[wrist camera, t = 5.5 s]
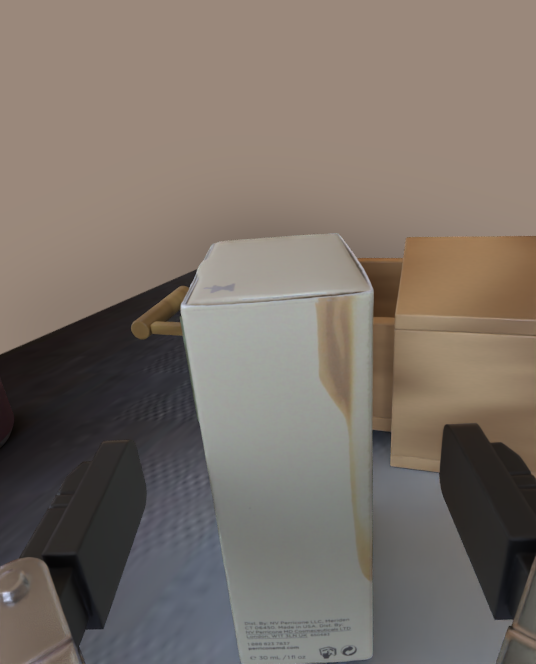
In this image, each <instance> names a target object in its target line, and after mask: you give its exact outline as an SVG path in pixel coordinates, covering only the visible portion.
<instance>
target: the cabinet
mask: <svg viewBox="0 0 536 664" xmlns="http://www.w3.org/2000/svg"><path fill="white" fill-rule="evenodd" d="M461 423H477V424H478V425H479V426H480V427H481V429H482V431H483V432H484V434H485V435H486V437H487V438H488V440H489V442H490V443H494V442H502V443H503V444H505V445H506V446H507V447H509V448H510V449H512V450H513V451H514V452H516V453H517V454H518V455H520V457H521V458H522V460H523V461H524V462H525V464H526V465H527V467H528V468H529V470H530V471H531V475H534V477H535V478H536V236H502V237H501V236H499V237H498V236H497V237H407V238H406V242H405V249H404V257H403V263H402V270H401V277H400V284H399V291H398V298H397V305H396V312H395V330H394V361H393V392H392V423H391V455H390V465H391V466H393V467H400V468H408V469H416V470H424V471H432V472H439V471H440V459H441V448H442V437H443V429H444V426H445V425H446V424H461Z"/></svg>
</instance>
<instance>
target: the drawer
mask: <svg viewBox="0 0 536 664" xmlns="http://www.w3.org/2000/svg"><path fill="white" fill-rule="evenodd" d="M357 259H358V261H359V262H360V263H361V265H362V267H363V268H364V270H365V272H366V274H367V276H368V278H369V280H370V282H371V285H372V287H373V289H374V306H373V422H372V430H379V431H388V432H391V423H392V392H393V361H394V330H395V312H396V305H397V298H398V291H399V284H400V277H401V270H402V263H403V258H357ZM188 290H189V288H188V287H186V286H180V287H179V288H177V289H176V290H175V291H173V292H172V293H171V294H170V295H168V296H167V297H166V298H164V299H163V300H162V301H160V302H159V303H158V304H157V305H155V306H154V307H153V308H151V309H150V310H149V311H147V312H146V313H145V314H144V315H142V316H141V317H140V318H138V319H137V320H136V321H134V322H133V323H132V326H131V330H132V333H133V334H134V336H136V337H137V338H139V339H146V338H148V337H149V336H150V335H151V334H164V335H181V336H183V340H184V346H185V351H186V357H187V363H188V368H189V374H190V380H191V386H192V391H193V397H194V403H195V408H196V414H197V420H198V422H199V416H198V410H197V405H196V399H195V393H194V387H193V380H192V375H191V369H190V363H189V357H188V351H187V345H186V339H185V332H184V326H183V321H182V316H181V317H180V322H166V321H168V320H169V319H170V318H171V317H172V316H173V315H175V314H176V313H177V312H178V311H179V310H180V309H181V303H182V302H183V300H184V298H185V296H186V294H187V292H188Z"/></svg>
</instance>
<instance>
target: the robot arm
mask: <svg viewBox="0 0 536 664" xmlns="http://www.w3.org/2000/svg"><path fill="white" fill-rule="evenodd" d="M439 477H440V486H441V490H442V494H443V497H444V500H445V502H446V504H447V507H448V509H449V512H450V514H451V516H452V519H453V521H454V524H455V526H456V528H457V531H458V533H459V535H460V538H461V540H462V543H463V545H464V547H465V550H466V552H467V555H468V557H469V559H470V562H471V564H472V567H473V569H474V571H475V574H476V576H477V578H478V581H479V583H480V586H481V588H482V590H483V593H484V595H485V598H486V600H487V602H488V605H489V607H490V610H491V612H492V614H493V617H494V619H495V620H507V619H513V623H512V626H509V627H508V630H507V632H506V635H505V637H504V640H503V643H502V646H501V649H500V652H499V655H498V657H497V660H496V663H495V664H536V478H535V477H534V475H531V471H530V470H529V468H528V467H527V465H526V464H525V462H524V461H523V460H522V458H521V457H520V455H518V454H517V453H516V452H514V451H513V450H512V449H510V448H509V447H507V446H506V445H505V444H503V443H502V442H494V443H490V442H489V440H488V438H487V437H486V435H485V434H484V432H483V431H482V429H481V427H480V426H479V425H478V424H477V423H461V424H446V425H445V426H444V429H443V437H442V448H441V459H440V471H439ZM146 495H147V492H146V483H145V479H144V475H143V471H142V467H141V463H140V459H139V455H138V451H137V447H136V444H135V442H134V441H133V440H115V441H104V442H102V443H101V445H100V447H99V448H98V450H97V452H96V454H95V456H94V458H93V460H92V461H88V462H82V463H81V464H80V465H79V466H78V467H77V468H75V469H74V470H73V471H72V472H71V473H70V474H69V475H68V476H67V477H66V479H65V480H64V482H63V484H62V486H61V487H60V489H59V491H58V495H56V496H55V498H54V499H53V501H52V503H51V504H50V509H47V511H46V513H45V515H44V516H43V518H42V520H41V521H40V523H39V525H38V527H37V528H36V530H35V532H34V533H33V535H32V537H31V538H30V540H29V542H28V544H27V545H26V547H25V549H24V550H23V552H22V554H21V556H20V557H19V559H17V560H14V561H11V562H9V563H6V564H5V565H3V566H1V567H0V664H85V661H84V658H83V655H82V652H81V650H80V647H79V645H80V642H81V640H82V637H83V634H84V632H85V630H87V629H104V626H105V623H106V620H107V617H108V614H109V611H110V608H111V605H112V602H113V600H114V597H115V594H116V591H117V588H118V585H119V582H120V579H121V576H122V573H123V570H124V567H125V565H126V562H127V559H128V556H129V553H130V550H131V547H132V544H133V541H134V538H135V535H136V533H137V530H138V527H139V524H140V521H141V518H142V515H143V512H144V509H145V505H146Z"/></svg>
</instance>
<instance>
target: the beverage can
mask: <svg viewBox="0 0 536 664" xmlns="http://www.w3.org/2000/svg"><path fill="white" fill-rule="evenodd" d="M13 424H14V414H13V412H12V409H11V406H10V404H9V401H8V398H7V396H6V393H5V390H4V388H3V385H2V382H1V379H0V448H1V447H2V446H3V445H4V444H5V442H6V441H7V439H8V438H9V436H10V434H11V431H12V428H13Z"/></svg>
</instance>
